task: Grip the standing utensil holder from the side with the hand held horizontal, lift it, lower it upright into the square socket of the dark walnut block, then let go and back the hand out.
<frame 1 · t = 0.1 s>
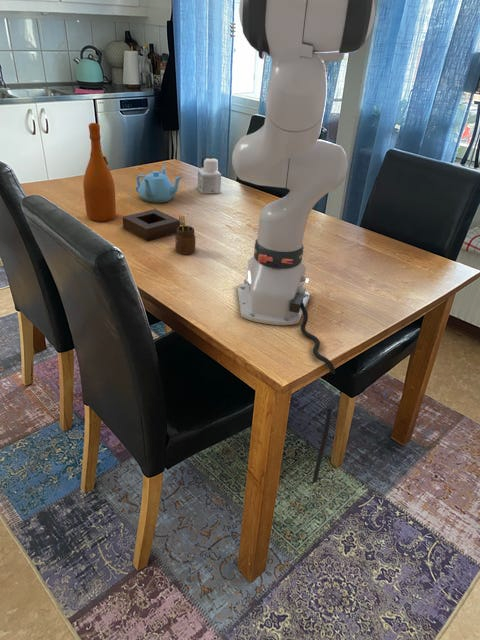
hand: (300, 78, 128), 48 cm above the table, tool pointing down, fingers open, 8 cm apart
wine bottle: (101, 218, 165), on the table
container: (208, 191, 198), on the table
teapot: (159, 199, 185), on the table
socket block: (151, 230, 158), on the table
utensil holder: (185, 251, 146), on the table
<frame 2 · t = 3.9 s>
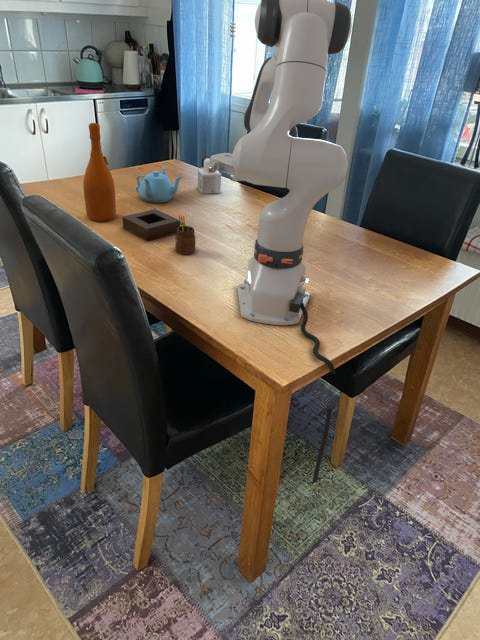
hand: (220, 173, 143), 21 cm above the table, tool horizontal, fingers open, 8 cm apart
nothing on the table moved.
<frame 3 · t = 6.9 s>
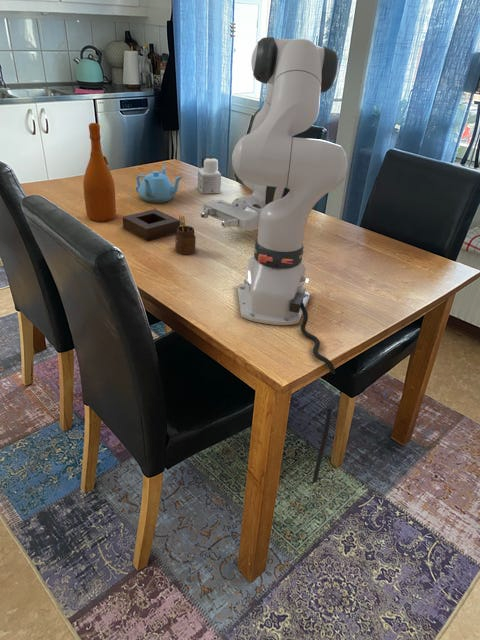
hand: (212, 219, 149), 8 cm above the table, tool horizontal, fingers open, 8 cm apart
nothing on the table moved.
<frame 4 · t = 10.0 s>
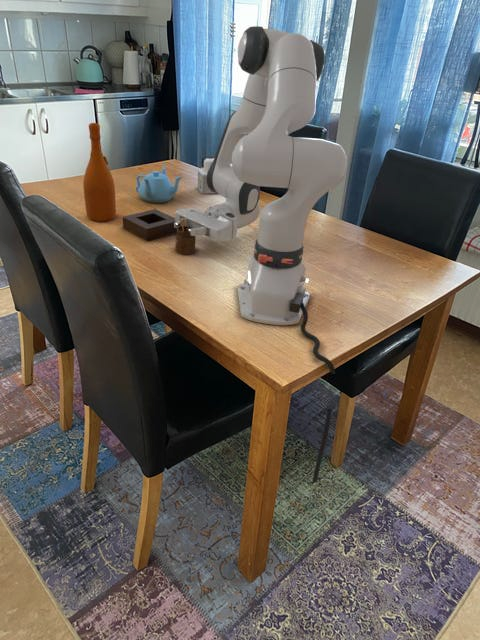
hand: (182, 229, 142), 7 cm above the table, tool horizontal, fingers closed on utensil holder, 5 cm apart
utensil holder: (185, 251, 146), on the table, touching gripper
everything else where it was.
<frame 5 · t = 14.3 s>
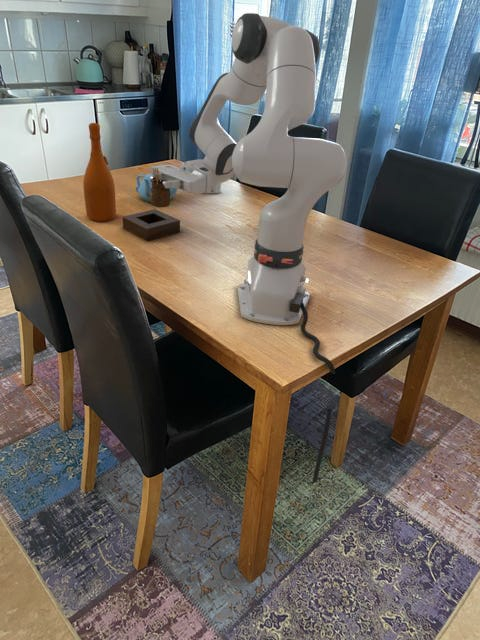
hand: (157, 182, 145), 17 cm above the table, tool horizontal, fingers closed on utensil holder, 5 cm apart
utensil holder: (160, 205, 150), point 10 cm above the table, touching gripper
everything else where it was.
when the fingers open (7 cm above the table, at t = 18.6 s): utensil holder stays where it is, resting in socket block.
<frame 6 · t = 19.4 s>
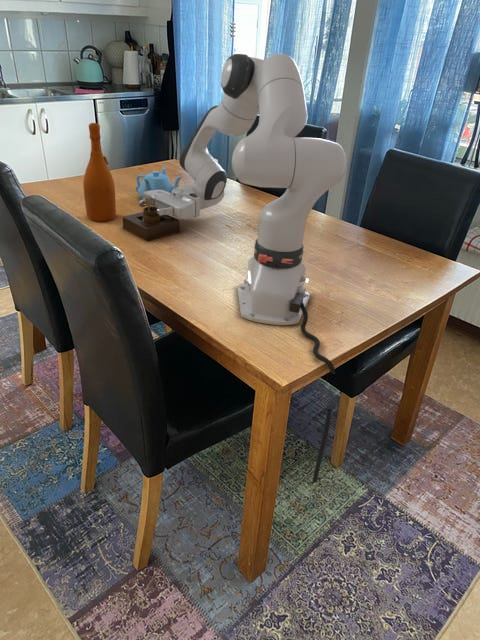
hand: (148, 208, 153), 8 cm above the table, tool horizontal, fingers open, 8 cm apart
utensil holder: (151, 230, 158), resting in socket block
everything else where it was.
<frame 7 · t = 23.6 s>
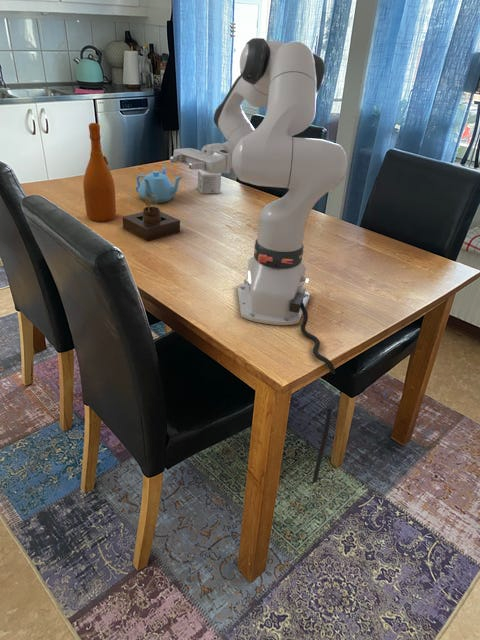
hand: (180, 163, 155), 20 cm above the table, tool horizontal, fingers open, 8 cm apart
nothing on the table moved.
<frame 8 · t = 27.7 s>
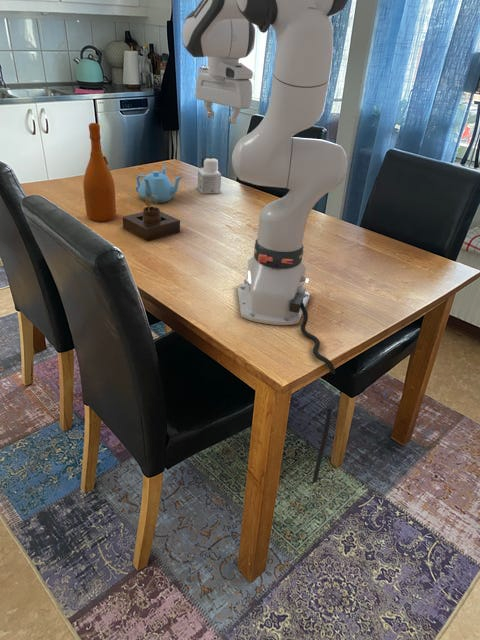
hand: (221, 120, 145), 34 cm above the table, tool pointing down, fingers open, 8 cm apart
nothing on the table moved.
at the end: utensil holder 0.1 cm off-centre in the socket block, point 0.0 cm above the socket block's base; utensil holder tilted 0°; the gripper is holding nothing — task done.
